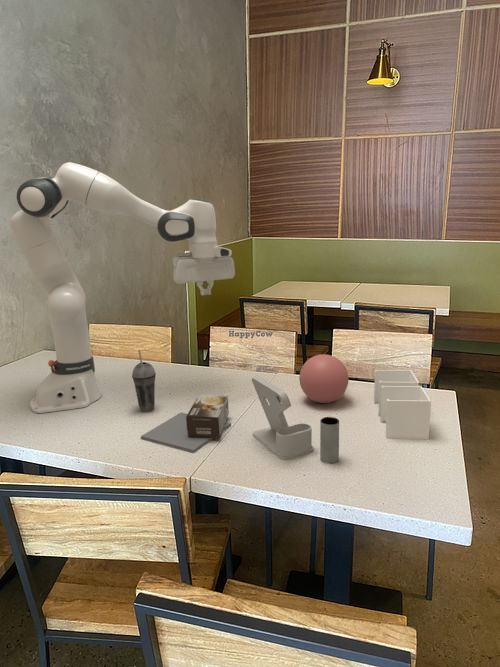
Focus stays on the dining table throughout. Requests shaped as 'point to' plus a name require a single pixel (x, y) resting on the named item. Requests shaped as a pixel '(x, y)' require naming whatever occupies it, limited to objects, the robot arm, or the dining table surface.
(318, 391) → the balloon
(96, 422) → the dining table surface
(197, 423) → the coffee box
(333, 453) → the gray cylinder
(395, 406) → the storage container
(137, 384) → the beverage cup
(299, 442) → the phone holder
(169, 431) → the mat
